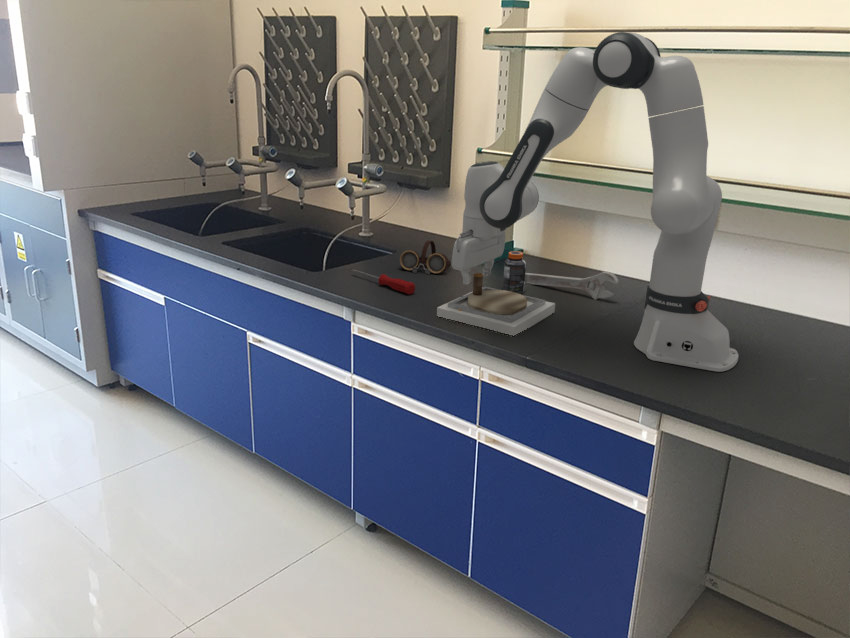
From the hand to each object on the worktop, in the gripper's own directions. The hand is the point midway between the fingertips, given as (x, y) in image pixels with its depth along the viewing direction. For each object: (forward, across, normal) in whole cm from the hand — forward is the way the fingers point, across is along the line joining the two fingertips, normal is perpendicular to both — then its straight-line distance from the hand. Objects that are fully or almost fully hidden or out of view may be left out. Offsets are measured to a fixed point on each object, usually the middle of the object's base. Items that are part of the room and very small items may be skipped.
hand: (476, 279), depth 184 cm
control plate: (+8, 0, -6) cm, 10 cm away
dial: (+5, 0, -6) cm, 8 cm away
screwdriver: (+9, +1, +32) cm, 34 cm away
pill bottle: (+8, +20, 0) cm, 22 cm away
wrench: (+8, +29, -12) cm, 33 cm away
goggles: (+9, +23, +32) cm, 40 cm away
